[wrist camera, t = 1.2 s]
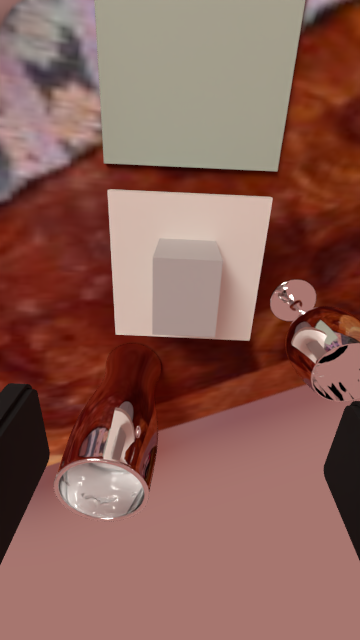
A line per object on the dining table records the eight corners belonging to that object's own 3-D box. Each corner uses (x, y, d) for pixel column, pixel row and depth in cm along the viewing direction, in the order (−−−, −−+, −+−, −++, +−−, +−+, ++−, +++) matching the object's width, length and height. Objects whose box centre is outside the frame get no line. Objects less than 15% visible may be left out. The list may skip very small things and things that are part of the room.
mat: (275, 171, 26) (277, 171, 26) (105, 163, 26) (104, 163, 26) (315, -77, 20) (318, -82, 19) (91, -87, 20) (89, -93, 19)
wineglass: (256, 321, 32) (290, 401, 22) (272, 267, 30) (320, 328, 19) (310, 330, 33) (371, 413, 22) (331, 277, 30) (411, 343, 19)
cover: (247, 336, 27) (262, 378, 22) (117, 329, 27) (100, 370, 22) (270, 196, 22) (295, 208, 17) (110, 189, 22) (86, 198, 17)
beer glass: (121, 327, 33) (76, 442, 20) (177, 359, 35) (171, 484, 21) (91, 373, 36) (34, 501, 22) (145, 400, 37) (121, 534, 24)
